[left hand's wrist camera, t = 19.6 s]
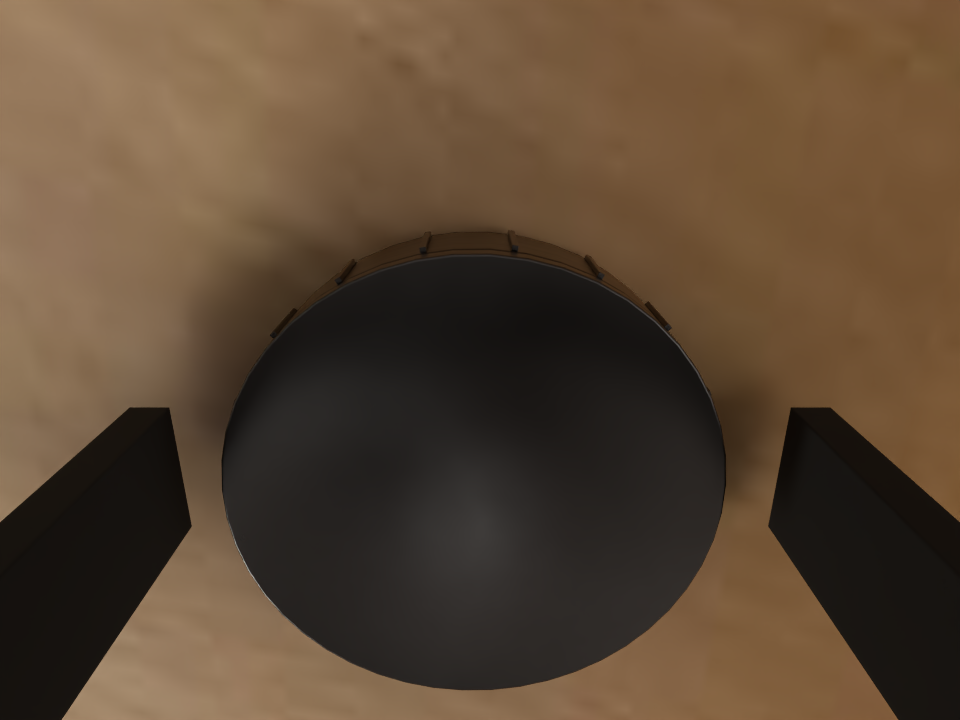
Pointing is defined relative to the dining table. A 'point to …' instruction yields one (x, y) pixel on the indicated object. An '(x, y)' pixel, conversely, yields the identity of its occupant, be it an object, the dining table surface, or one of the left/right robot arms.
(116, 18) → the dining table surface
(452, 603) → the lid
